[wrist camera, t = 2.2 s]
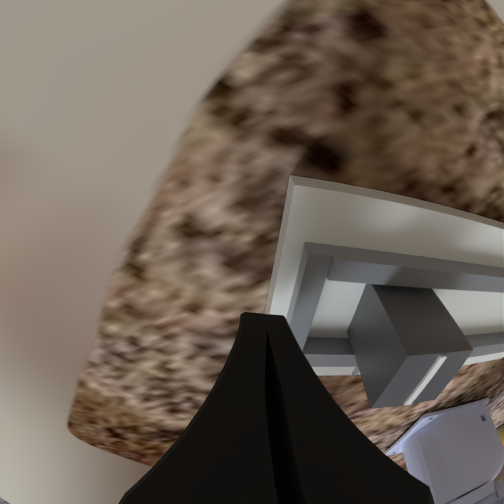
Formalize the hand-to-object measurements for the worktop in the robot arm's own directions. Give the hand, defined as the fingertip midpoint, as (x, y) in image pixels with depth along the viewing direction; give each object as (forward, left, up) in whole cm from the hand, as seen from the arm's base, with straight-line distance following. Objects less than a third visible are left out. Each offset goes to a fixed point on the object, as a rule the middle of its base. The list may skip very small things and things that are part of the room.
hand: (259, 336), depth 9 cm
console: (-10, 0, -3) cm, 10 cm away
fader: (-6, 0, -2) cm, 6 cm away
